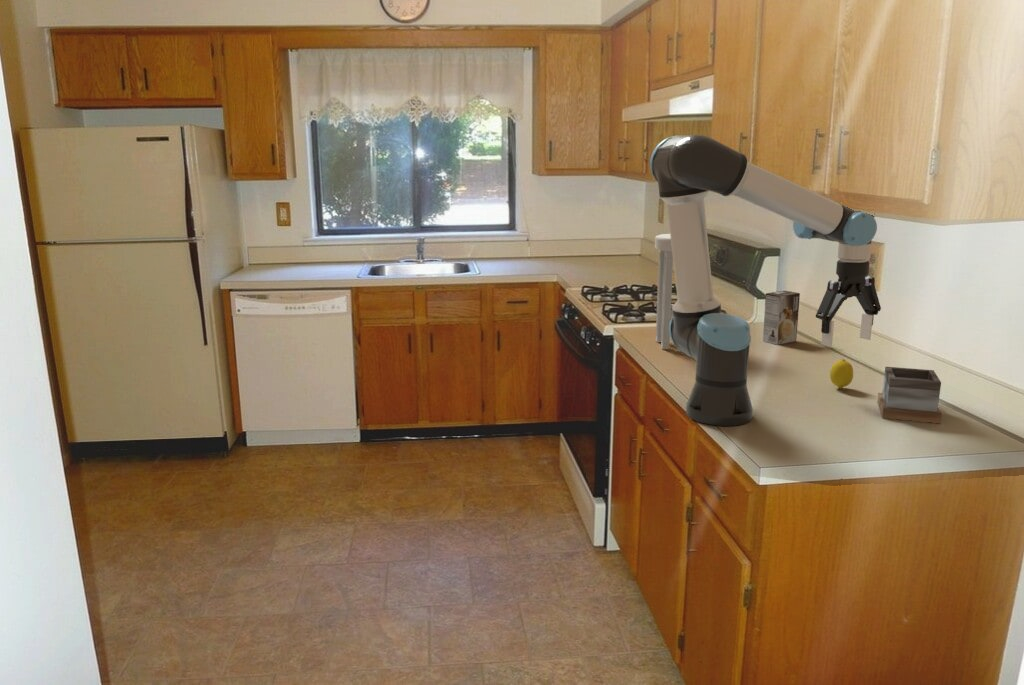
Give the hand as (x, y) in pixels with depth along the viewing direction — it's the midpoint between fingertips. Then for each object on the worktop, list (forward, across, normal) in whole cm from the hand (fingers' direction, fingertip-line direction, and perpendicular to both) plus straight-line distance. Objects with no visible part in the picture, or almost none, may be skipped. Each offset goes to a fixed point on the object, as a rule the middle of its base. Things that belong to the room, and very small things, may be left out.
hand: (846, 342), depth 195 cm
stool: (+12, +10, -57) cm, 59 cm away
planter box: (+13, +1, +20) cm, 24 cm away
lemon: (+13, 0, 0) cm, 13 cm away
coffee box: (+13, -22, -45) cm, 52 cm away
